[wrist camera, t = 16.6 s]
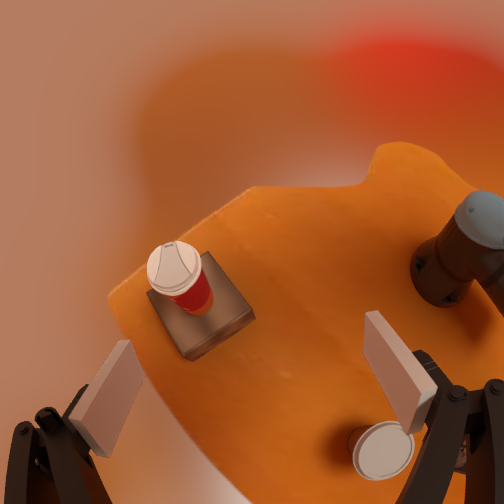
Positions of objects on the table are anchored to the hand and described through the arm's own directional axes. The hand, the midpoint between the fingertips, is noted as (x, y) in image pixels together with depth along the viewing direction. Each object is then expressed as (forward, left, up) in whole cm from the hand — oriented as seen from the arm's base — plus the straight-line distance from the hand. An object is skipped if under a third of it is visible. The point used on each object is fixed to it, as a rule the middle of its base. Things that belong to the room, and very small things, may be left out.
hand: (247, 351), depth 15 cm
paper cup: (+2, -18, -30) cm, 34 cm away
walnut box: (+2, -18, -36) cm, 40 cm away
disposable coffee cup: (-6, +20, -36) cm, 42 cm away
